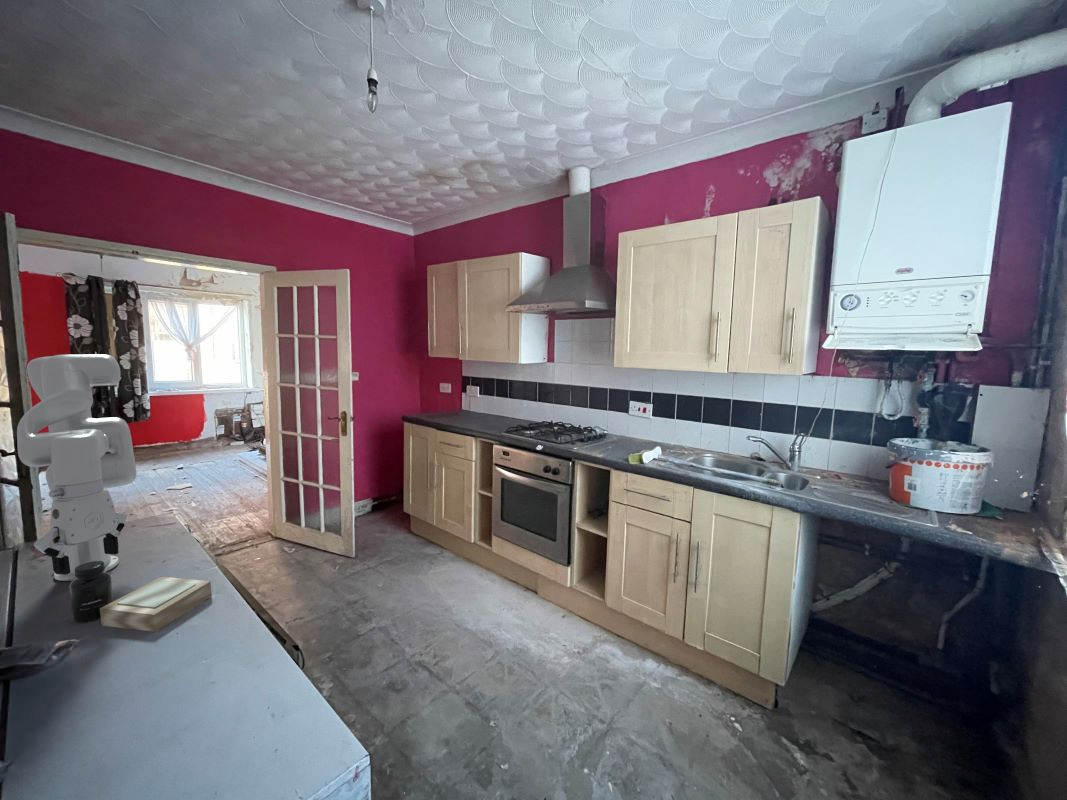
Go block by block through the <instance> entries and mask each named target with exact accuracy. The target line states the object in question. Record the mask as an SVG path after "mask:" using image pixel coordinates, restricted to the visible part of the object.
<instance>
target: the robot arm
mask: <svg viewBox="0 0 1067 800" xmlns="http://www.w3.org/2000/svg"><path fill="white" fill-rule="evenodd" d="M26 373H27V376H28V380H29V382H30V385H31V387H32V389H33V390H34V392H35V394H36V396H38V398H39V399H40V402H37V404H35V405H33V406H32V407H31V408H29V410H27V412H25V413H24V415H23V416H22V417H21V418H20V419H19V422H18V423H17V429H16V437H17V438H16V439H17V440H16V441H17V442H16V443H17V455H18V458H19V460H20V461H21V463H22V464H23V465H25V466H27V467H31V468H36V467H37V468H38V467H39V468H40V467H47V468H46V470H45V481H46V484H47V487H48V489H49V492H48V497H49V498H52V504H51V510H50V518H49V519H50V524H49V525H50V530H49V531H48V532H46V533H45V534H44V535H42V536H41V537H40V538H39V539H38V540H36V541H35V542H33V546H34V547H35V548H36V549H37V550H38V551H39V552H40V554H42V555H44V556H47V557H48V558H51V561H52V569H53V572H54V573H53V577H54V579H55V580H57V581H60V582H69V581H70V582H72V581H73V580H74V579H76V578H75V568H76V567H77V566H79V565H82V564H84V563H88V562H93V561H103V562H104V567H105V570H104V571H105V572H108V571H110V570H112V569H114V568H115V567H117V566H118V565H119V563H120V560H119V557H118V556H116V555H118V554H119V552H120V551H119V547H120V546H119V539H118V538H119V537H120V535H121V532H122V530H123V529H124V527H125V523H126V521H127V518H128V514H126V513H119V512H116V509H115V504H114V502H113V499H112V496H111V494H110V492H109V490H108V489H111V488H116V487H122V486H127V485H130V484H132V483H133V482H135V479H136V477H137V465H136V459H135V453H134V447H133V441H132V440H133V439H132V435H131V429H130V426H129V425H128V423H127V421H126V420H125V419H123V418H120V417H117V416H115V417H114V416H113V417H112V416H111V417H99V418H98V417H97V418H94V417H92V410H91V407H92V406H93V404H94V398H93V397H94V396H93V393H92V391H93V390H92V387H101V386H115V385H117V384H119V382H120V380H121V367H120V364H119V363H118V360H117V359H116V358H115V357H114V356H113V355H110V354H103V353H102V354H100V353H98V354H93V353H91V354H89V353H88V354H86V353H83V354H78V353H77V354H71V353H69V354H67V353H66V354H55V355H52V356H49V355H48V356H43V357H42V356H41V357H36V358H34V359H31V360H30V361H29V362H28V363H27V365H26ZM46 427H48V431H47V432H40V431H42V430H43V429H45V428H46ZM107 452H109V453H107ZM50 542H52V543H53V546H52V547H50V545H49V544H50Z"/></svg>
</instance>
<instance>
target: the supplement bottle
mask: <svg viewBox="0 0 1067 800" xmlns="http://www.w3.org/2000/svg"><path fill="white" fill-rule="evenodd" d="M104 570H105V567H104V562H103V561H93V562H88V563H84V564H82V565H79V566H77V567H76V568H75V578H76V579H74V580H71V581H70V584H69V597H70V607H71V617H72V621H73V622H74V623H77V624H84V623H85V624H86V623H89V622H94V621H97V620H99V619H100V620H101V615H100V608H102V607H104V606H106V605H108V604H110V603H111V602H113V601H114V593H113V591H114V590H113V583H112V581H113V580H112V575H111V574H110V573H109V572H108V571H106V572H105V571H104Z"/></svg>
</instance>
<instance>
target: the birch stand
mask: <svg viewBox="0 0 1067 800" xmlns="http://www.w3.org/2000/svg"><path fill="white" fill-rule="evenodd" d="M211 585H212V584H211V581H210V580H199V579H190V578H188V579H187V578H179V577H171V576H169V577H168V576H160V577H158V578H156V579H154V580H152V581H151V582H148V583H147V584H144V585H142V586H141V587H139V588H137V589H135V590H133V591H131V592H129V593H127V594H125V595H123V596H122V597H119V598H117V599H115V600H113V602H111V603H110V604H108V605H106V606H104V607H102V608H100V615H101V618H100V623H101V626H103V627H110V628H114V627H115V628H120V629H129V630H137V631H144V632H151V633H153V632H154V633H156V632H158V631H160V630H161V629H163V628H164V627H166V626H168V625H169V624H171V623H172V622H174V621H175V619H176V620H177V619H178V618H180V617H182V616H184V615H186V614H187V613H189V611H191V610H193V609H195V608H196V607H198V606H199V605H200V603H201V604H202V603H204V602H206V601H207V600H209V599H210V598H212V597H211V596H212V594H213V593H212V586H211ZM208 598H209V599H208ZM206 599H207V600H206ZM205 600H206V601H205ZM203 601H204V602H203ZM197 605H198V606H197ZM195 606H196V607H195ZM194 607H195V608H194ZM192 608H193V609H192ZM186 612H187V613H186Z"/></svg>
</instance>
